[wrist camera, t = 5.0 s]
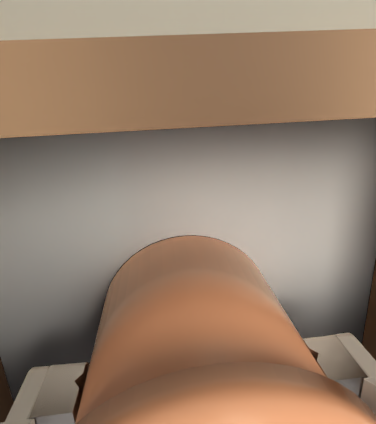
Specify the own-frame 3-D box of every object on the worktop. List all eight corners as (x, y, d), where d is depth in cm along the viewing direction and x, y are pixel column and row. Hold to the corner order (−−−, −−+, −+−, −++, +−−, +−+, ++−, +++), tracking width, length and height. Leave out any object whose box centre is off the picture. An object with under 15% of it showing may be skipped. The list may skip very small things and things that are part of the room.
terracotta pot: (105, 392, 13) (53, 713, 6) (78, 233, 10) (-52, 463, 4) (274, 372, 13) (395, 646, 7) (282, 216, 11) (480, 395, 4)
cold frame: (13, 485, 14) (-84, 749, 8) (-121, 87, 9) (-646, 61, 3) (366, 437, 15) (493, 637, 9) (438, 63, 10) (820, 14, 4)
